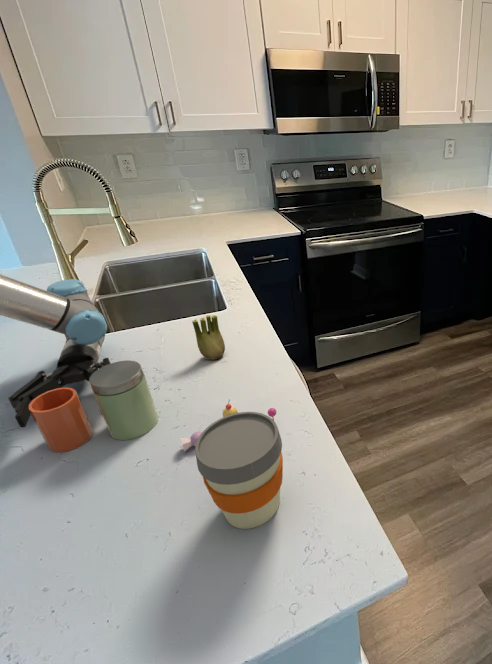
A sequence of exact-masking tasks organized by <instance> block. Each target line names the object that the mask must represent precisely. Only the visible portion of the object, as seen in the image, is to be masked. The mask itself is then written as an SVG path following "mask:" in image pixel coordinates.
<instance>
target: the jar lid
mask: <svg viewBox="0 0 492 664" xmlns="http://www.w3.org/2000/svg"><path fill="white" fill-rule="evenodd" d="M110 363H111V364H108V365H106V366H103V367H101V368H100V369H98V370H97V371H95V372H94V373H93V374H92V375H91V376H90V379H89V381H88V382H89V384H90V388H91V390H92V392H93V391H94V392H95V393H96V394H99V395H113V394H118V393H121V392H124V391H127V390H129V389H131V388H133V387H134V386H136V385H137V384H138V383H139V382H140V381H141V380H142V379H143V375H145V373H144V370H143V369H142V365H141V363H140V362H138V361H135V360H119V361H115V362H110ZM143 373H144V374H143Z"/></svg>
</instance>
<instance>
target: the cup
mask: <svg viewBox="0 0 492 664" xmlns="http://www.w3.org/2000/svg"><path fill="white" fill-rule="evenodd" d="M29 411H30V413H31V415H30V416H31V417H32V418H33V420H34V423H35V425H36V426H37V428H38V430H39V433H40V434H41V435H42V438H43V440H44V442H45V444H46V446H47V447H48V448H49V450H50V451H52V453H53V452H54V453H65V452H69V451H73V450H76V449H77V448H80V447H81V446H83V445H84V444H85V443H87V442H88V441H89V440H90V439H91V438H92V436H93V433H94V430H93V428H92V427H93V426H92V425H91V422H90V419H89V418H88V415H87V413H86V411H85V408H84V406H83V404H82V402H81V399H80V398H79V395H78V391H77V390H76V389H75V388H73V387H67V386H66V387H65V386H64V387H62V388H57V389H54V390H50V391H47V392H45V393H43V394H41V395H39V396H38V397H36V398H35V399H33V400H32V402H31V403H30V404H29Z"/></svg>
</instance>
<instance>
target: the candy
mask: <svg viewBox="0 0 492 664" xmlns="http://www.w3.org/2000/svg"><path fill="white" fill-rule="evenodd" d="M230 400H231V399H230V398H228V402H227V404H226V405H225V408H224V409H223V410H222V418H223V417H225V416H228V415H231V414H235V413H238V409H237V408H236V407H235V406H233V405H232V404H231V403H230ZM276 415H277V410H276V408H274V407H270V408H268V410H267V416H269V417H270V418H272V419H273V420H274V421H275V416H276ZM202 432H203V431H194V432H193V433H192V434H191V436H190V438H187V437H180V441H181V444H182V448H183V451H184V452H186V451H188V450H189V448H191V447H192V446H193V447H196V443H197V440H198V438H199V436H200V435H201V433H202Z"/></svg>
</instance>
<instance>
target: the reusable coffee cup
mask: <svg viewBox="0 0 492 664" xmlns="http://www.w3.org/2000/svg"><path fill="white" fill-rule="evenodd" d="M201 432H202V433H201V435H200V436H199V438H198V440H197V443H196V447H195V446H194V447H195V449H194V451H195V460H196V466H197V470H198V472H199V473H200V476H202V479H203V483H204V485H205V488H206V489H207V491H208V493H209V495H210V497H211V499H212V500H213V502H214V504H215V506H216V507H218V509H220V510H221V512H222V513H223V515H224V517H225V519H226V521H227V522H228V523H229V524H230V525H231V526H232V527H234V528H236V529H240V530H249V529H254V528H257V527H260V526H262V525H264V524H265V523H267V522H268V521H270V520H271V519H272V518H273V517H274V516H275V514H276V513H277V511H278V510H279V506H280V501H281V487H282V484H283V477H284V475H283V473H284V472H283V471H284V470H283V467H284V466H283V465H284V464H283V463H284V462H283V461H284V459H283V453H282V448H283V441H282V440H283V439H282V437H281V434H280V431H279V427H278V425H277V423H276V421H275V419H274V420H273V419H272V417H271V416H269V415H268V414H265V413H262V412H257V411H241V412H237V413H235V414H231V415H228V416H225V417H223V416H222V417H221V418H219V419H217V420H215V421H214V422H212V423H211V424H209V425H208V426H207V427H206V428H205V429H204V430H202V431H201Z"/></svg>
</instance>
